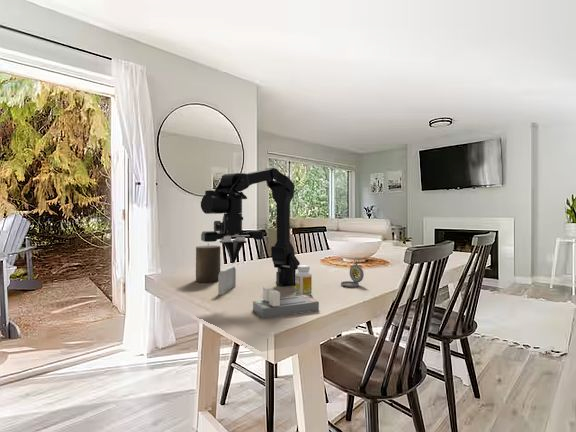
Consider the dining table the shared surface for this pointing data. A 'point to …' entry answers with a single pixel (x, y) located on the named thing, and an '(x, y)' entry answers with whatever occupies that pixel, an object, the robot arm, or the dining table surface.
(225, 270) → the light switch
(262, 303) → the panel
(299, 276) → the supplement bottle
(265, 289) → the block
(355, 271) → the pocket watch
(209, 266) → the pillar candle
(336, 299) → the dining table surface
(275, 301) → the block
